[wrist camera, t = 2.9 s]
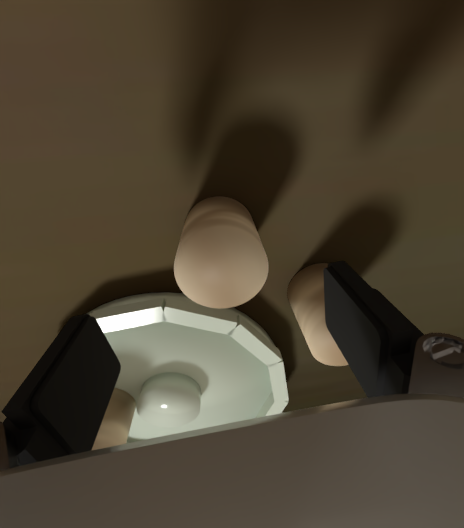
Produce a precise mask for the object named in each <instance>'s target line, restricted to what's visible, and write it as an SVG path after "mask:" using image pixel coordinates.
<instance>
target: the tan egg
mask: <svg viewBox="0 0 464 528" xmlns="http://www.w3.org/2000/svg"><path fill="white" fill-rule="evenodd" d="M174 275H175V279H176V282H177V284H178V286H179V288H180V289H181V291H182V292H183V293H184V294H185V295H186V296H187V297H188V298H190V299H191V300H192V301H194V302H196V303H198V304H200V305H202V306H206V307H210V308H218V309H221V308H231V307H235V306H238V305H241V304H243V303H245V302H247V301H249V300H250V299H252V298H253V297H254V296H255V295H256V294H257V293H258V292H259V291H260V290H261V288H262V287H263V285H264V283H265V281H266V279H267V275H268V259H267V256H266V253H265V250H264V248H263V245H262V243H261V240H260V237H259V235H258V232H257V230H256V227H255V225H254V222H253V219H252V217H251V215H250V213H249V211H248V210H247V209H246V208H245V207H244V206H243V205H242V204H241V203H240V202H238V201H236V200H234V199H232V198H229V197H223V196H215V197H210V198H206V199H204V200H202V201H200V202H199V203H197V204H196V205H195V206H194V207H193V208H192V209H191V210H190V212H189V213H188V215H187V217H186V220H185V224H184V227H183V231H182V235H181V239H180V242H179V246H178V250H177V254H176V257H175V262H174Z"/></svg>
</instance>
